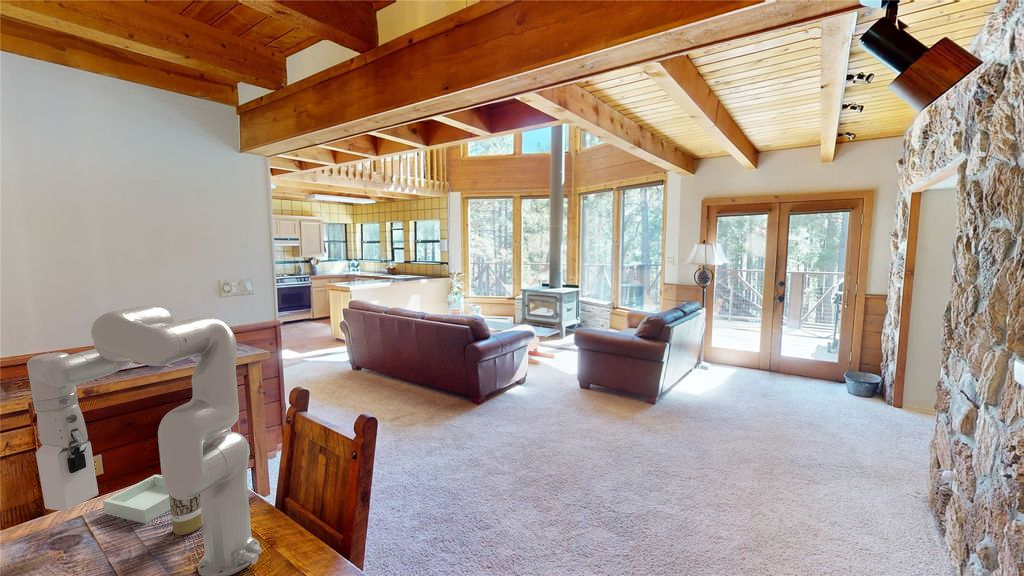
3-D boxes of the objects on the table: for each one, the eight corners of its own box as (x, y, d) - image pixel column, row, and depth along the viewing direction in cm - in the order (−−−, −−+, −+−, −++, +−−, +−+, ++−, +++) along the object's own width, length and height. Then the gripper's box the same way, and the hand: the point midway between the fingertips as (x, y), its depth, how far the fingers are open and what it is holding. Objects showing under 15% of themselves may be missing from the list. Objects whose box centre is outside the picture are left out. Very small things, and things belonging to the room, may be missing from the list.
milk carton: (66, 512, 106) (54, 439, 104) (44, 509, 107) (32, 437, 105) (99, 495, 113) (88, 426, 111) (78, 492, 114) (67, 425, 112)
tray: (195, 494, 130) (194, 482, 130) (146, 523, 117) (144, 510, 116) (157, 486, 135) (155, 474, 134) (104, 513, 121) (103, 500, 121)
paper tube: (184, 538, 111) (175, 448, 108) (167, 533, 113) (157, 444, 110) (210, 522, 118) (202, 436, 114) (193, 517, 120) (184, 433, 117)
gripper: (98, 399, 108) (108, 464, 110) (52, 394, 113) (62, 457, 115) (60, 411, 101) (72, 480, 103) (13, 405, 106) (25, 472, 108)
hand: (67, 467), depth 109 cm, fingers closed on milk carton, 7 cm apart
